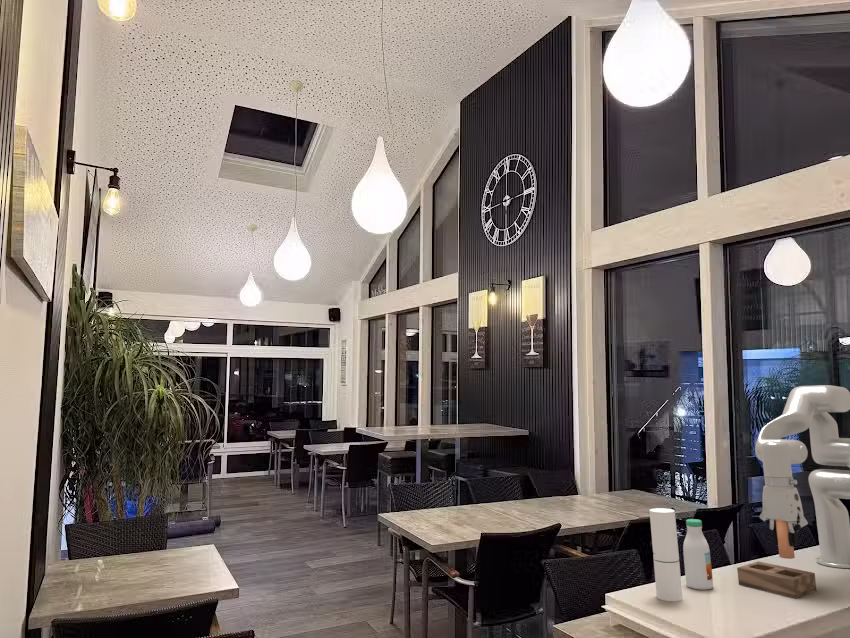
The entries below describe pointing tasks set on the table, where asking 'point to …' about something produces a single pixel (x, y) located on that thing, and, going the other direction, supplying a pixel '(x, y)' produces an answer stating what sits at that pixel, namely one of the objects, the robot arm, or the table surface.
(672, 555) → the cylindrical container
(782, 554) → the pin
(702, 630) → the table surface
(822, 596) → the table surface
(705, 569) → the milk bottle
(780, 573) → the socket block
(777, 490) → the robot arm
